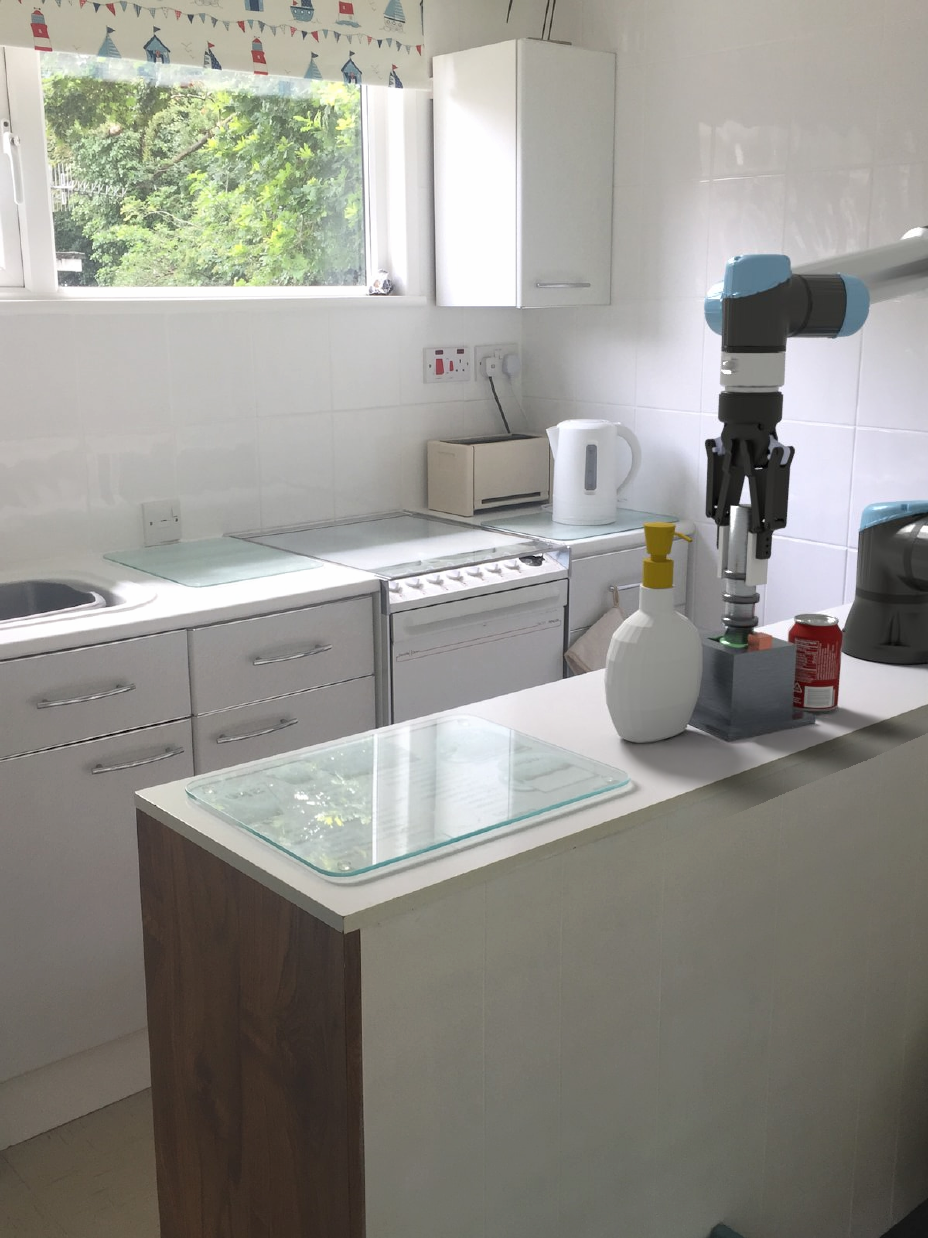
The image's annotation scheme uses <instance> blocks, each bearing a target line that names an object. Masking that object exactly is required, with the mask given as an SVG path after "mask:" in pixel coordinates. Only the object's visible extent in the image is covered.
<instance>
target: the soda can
mask: <svg viewBox="0 0 928 1238" xmlns="http://www.w3.org/2000/svg"><path fill="white" fill-rule="evenodd" d="M793 620H794V622H793V623H792V624H791V626H789V628H788V630H787V640H786V641H787V642H791V643H794V644H797V649H796V665H795V680H794V696H793V707H794V708H797V709H799V710H802V711H805V712H807V713H810V714H813V715H819V714H826V713H829V712H830V711H832V710H834V709H836V708H837V707H838V704H839V691H840V678H841V664H842V663H841V662H842V652H843V651H842V640H843V633H842V629H841V628H840V625H839V622H840V620H839V618H838V617H836V616H832V615H828V614H823V613H800V614H797V615H795V616H794V617H793Z"/></svg>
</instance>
